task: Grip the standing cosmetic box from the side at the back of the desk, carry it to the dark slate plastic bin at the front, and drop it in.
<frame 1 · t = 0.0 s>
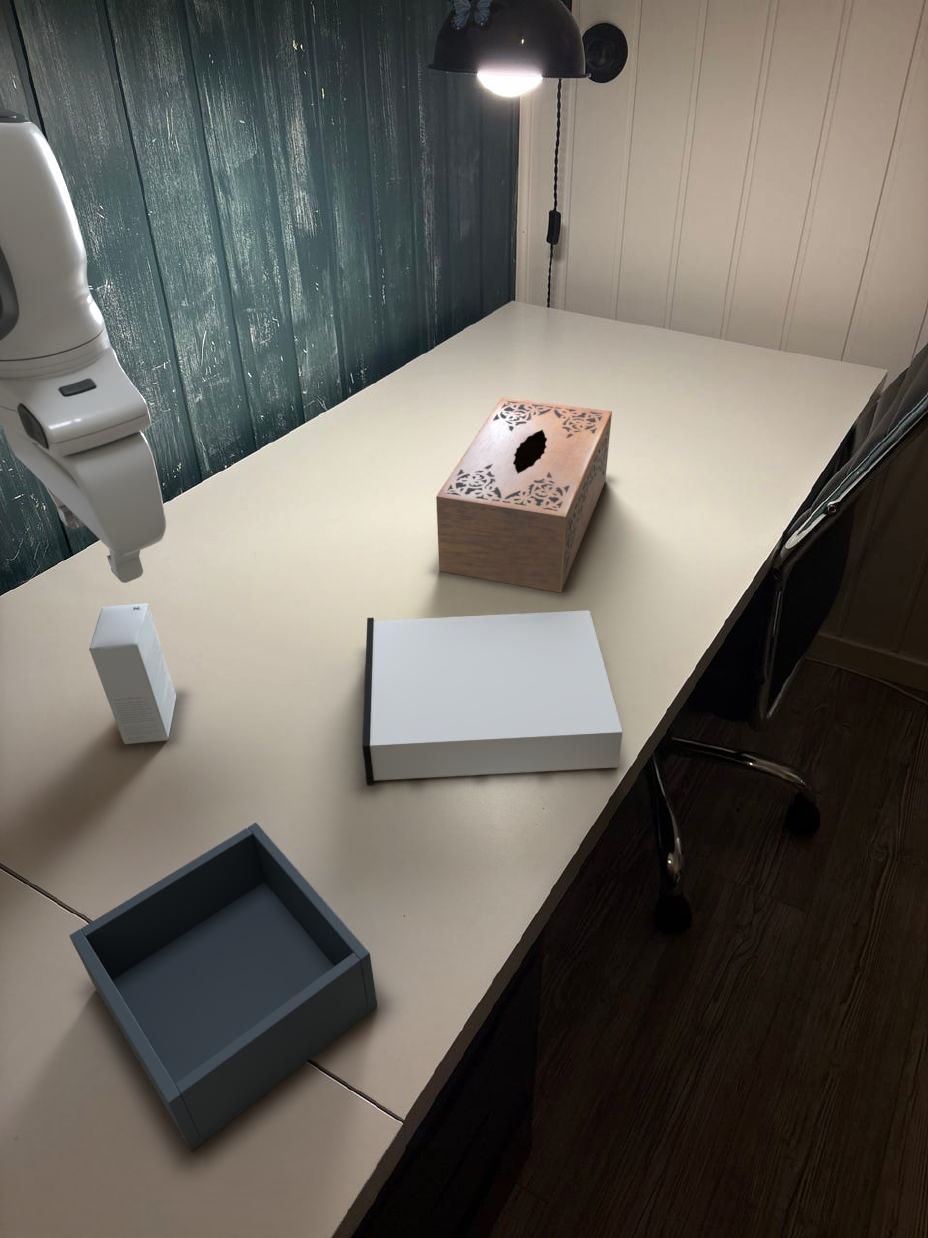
hand: (101, 548, 70), 23 cm above the table, tool pointing down, fingers open, 8 cm apart
tissue box cover: (527, 524, 114), on the table
bin: (235, 997, 66), on the table
disc drive: (484, 710, 88), on the table
cosmetic box: (151, 722, 88), on the table
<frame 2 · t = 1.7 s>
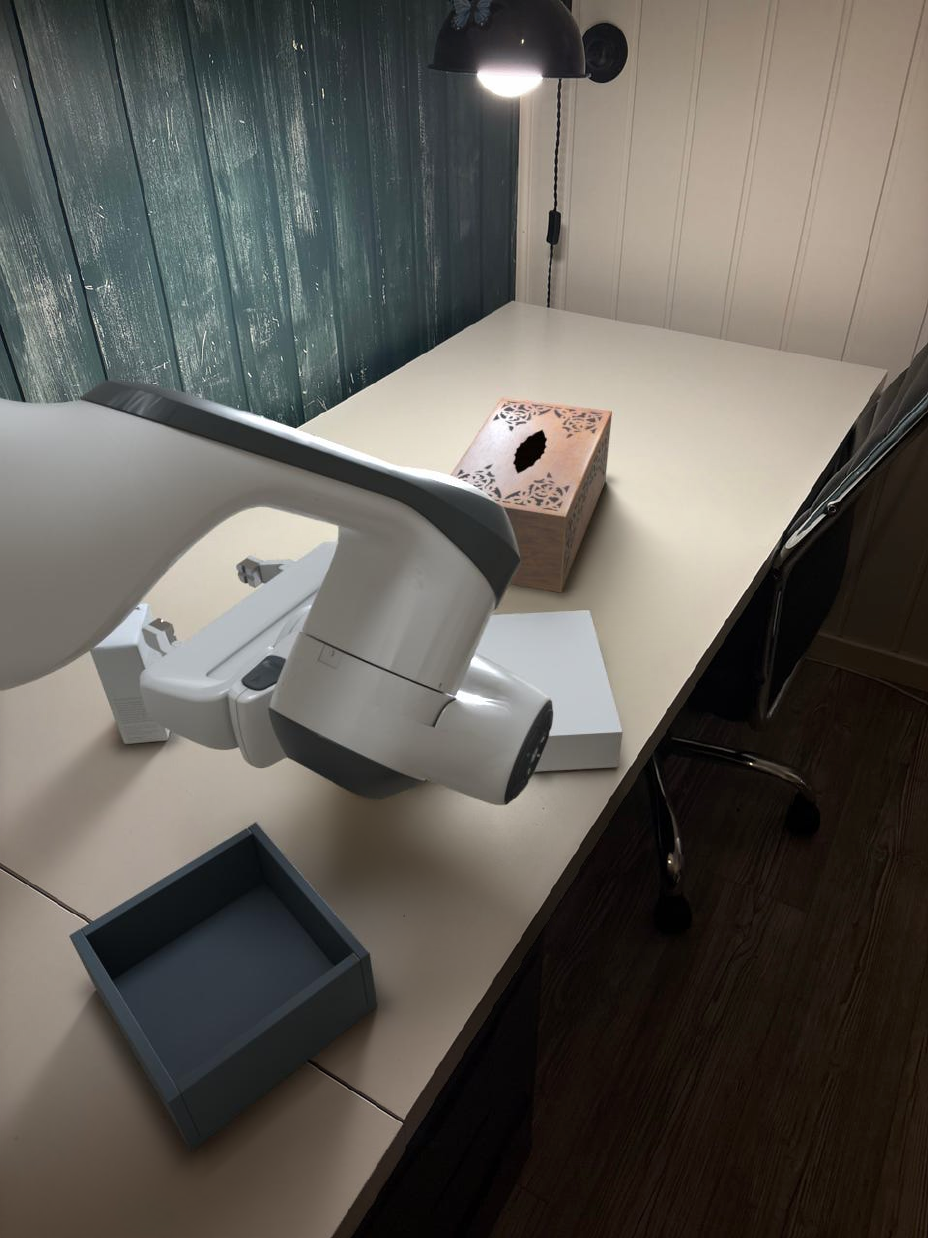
hand: (199, 597, 70), 20 cm above the table, tool horizontal, fingers open, 8 cm apart
nothing on the table moved.
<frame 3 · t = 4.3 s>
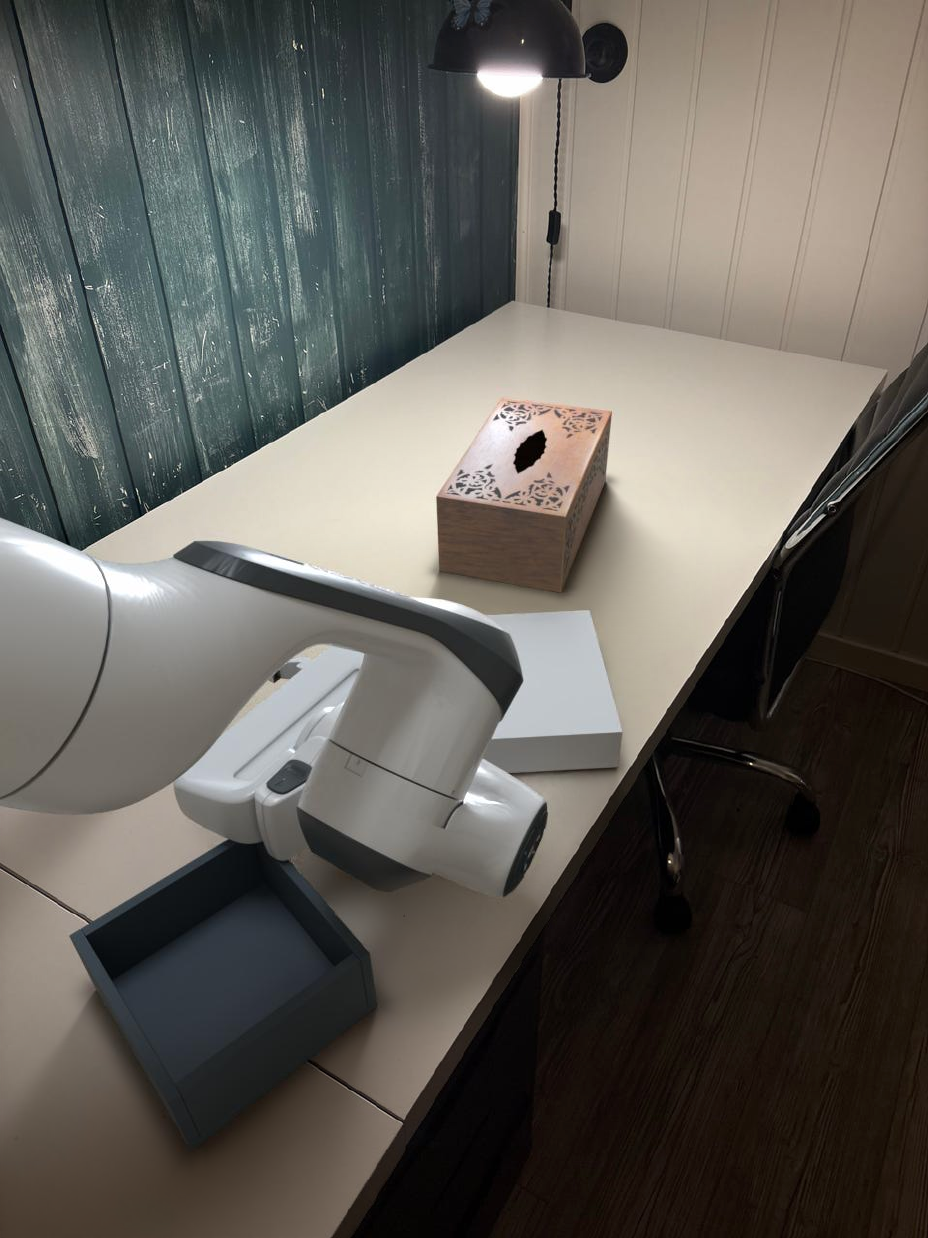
hand: (223, 694, 76), 10 cm above the table, tool horizontal, fingers open, 8 cm apart
nothing on the table moved.
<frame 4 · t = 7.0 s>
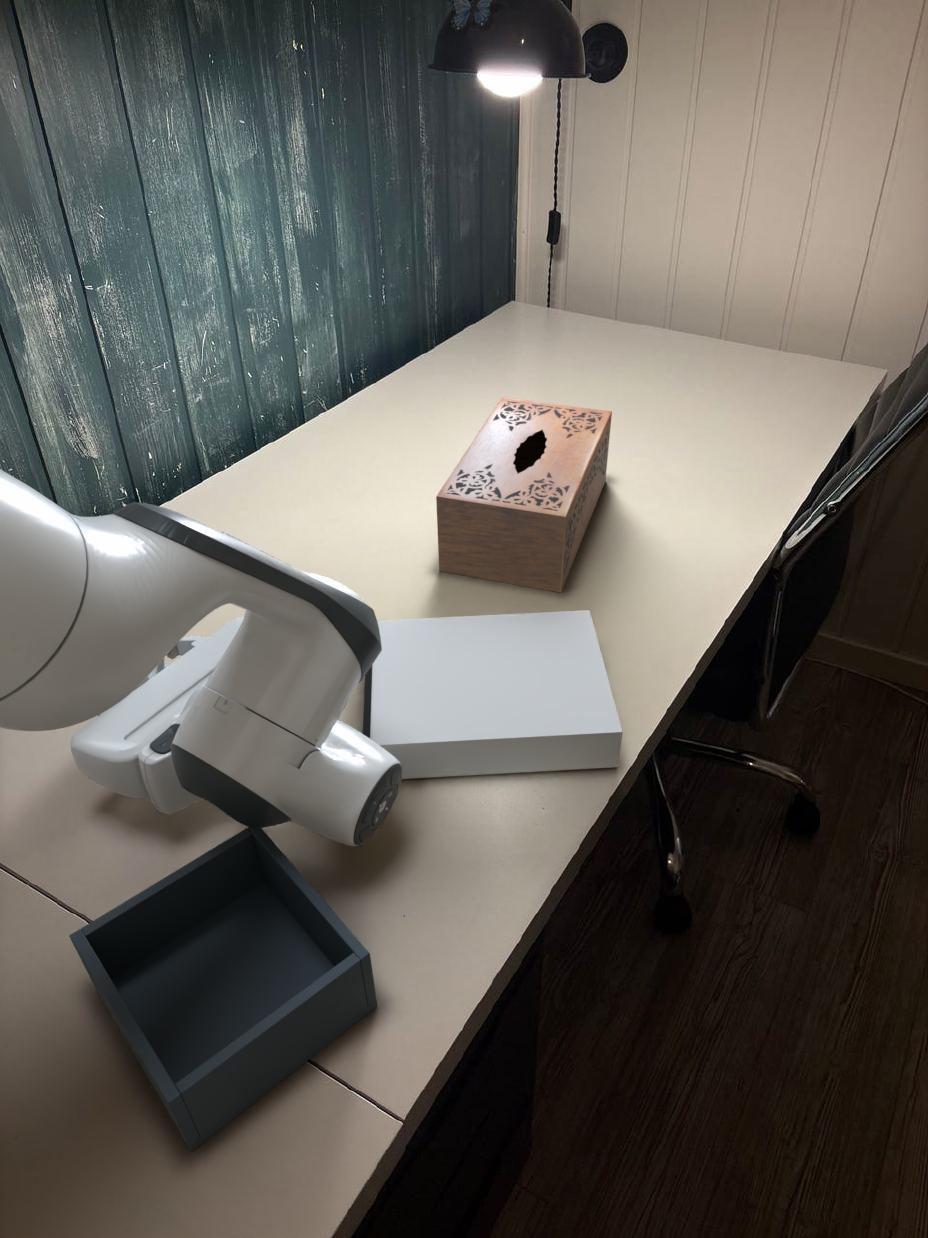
hand: (127, 666, 84), 7 cm above the table, tool horizontal, fingers closed on cosmetic box, 7 cm apart
cosmetic box: (151, 722, 88), on the table, touching gripper
everything else where it was.
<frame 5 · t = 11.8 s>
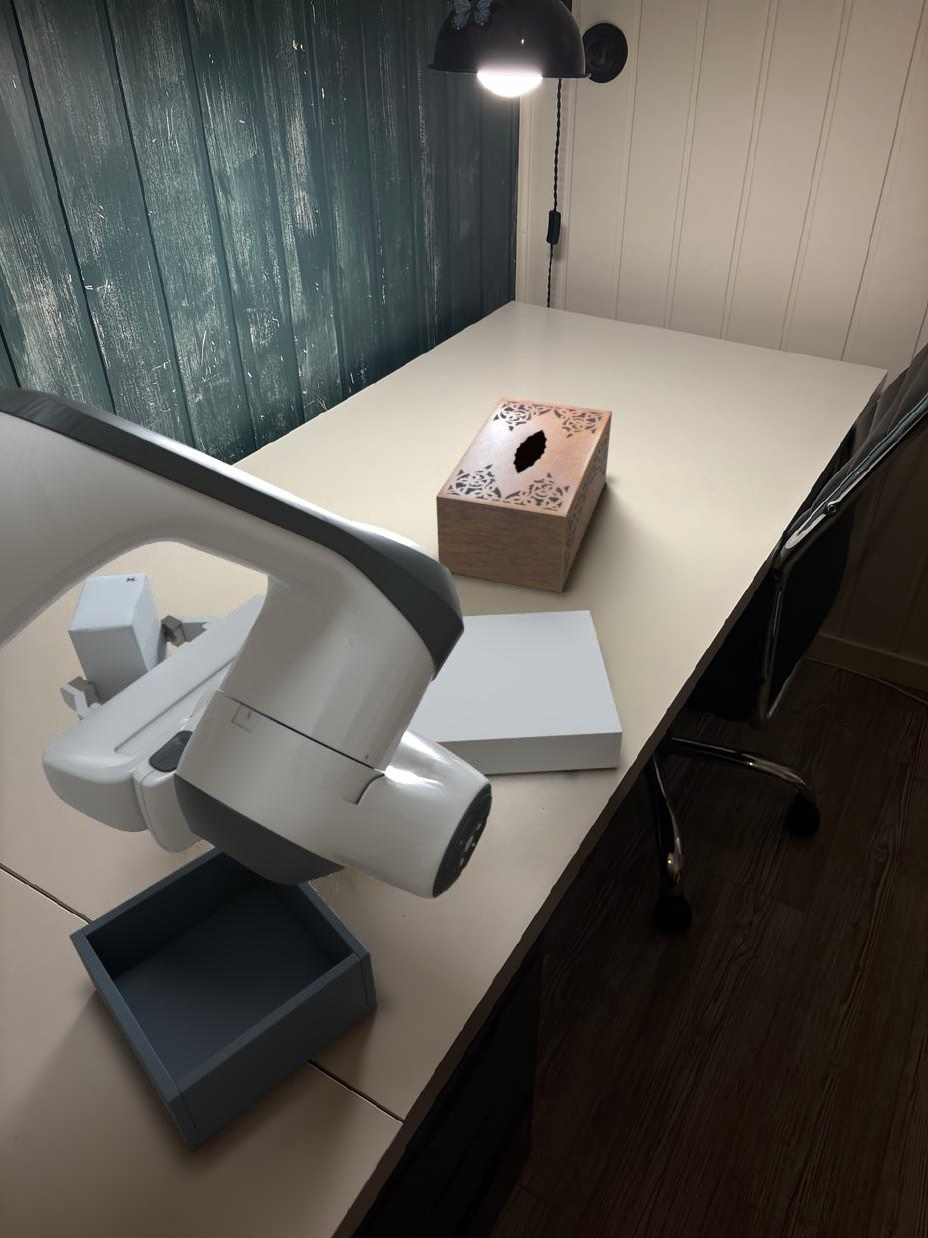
hand: (119, 656, 65), 20 cm above the table, tool horizontal, fingers closed on cosmetic box, 7 cm apart
cosmetic box: (150, 728, 68), point 13 cm above the table, touching gripper
everything else where it was.
when the fingers open (11 cm above the table, at t = 16.7 s): cosmetic box drops 3 cm, resting on bin.
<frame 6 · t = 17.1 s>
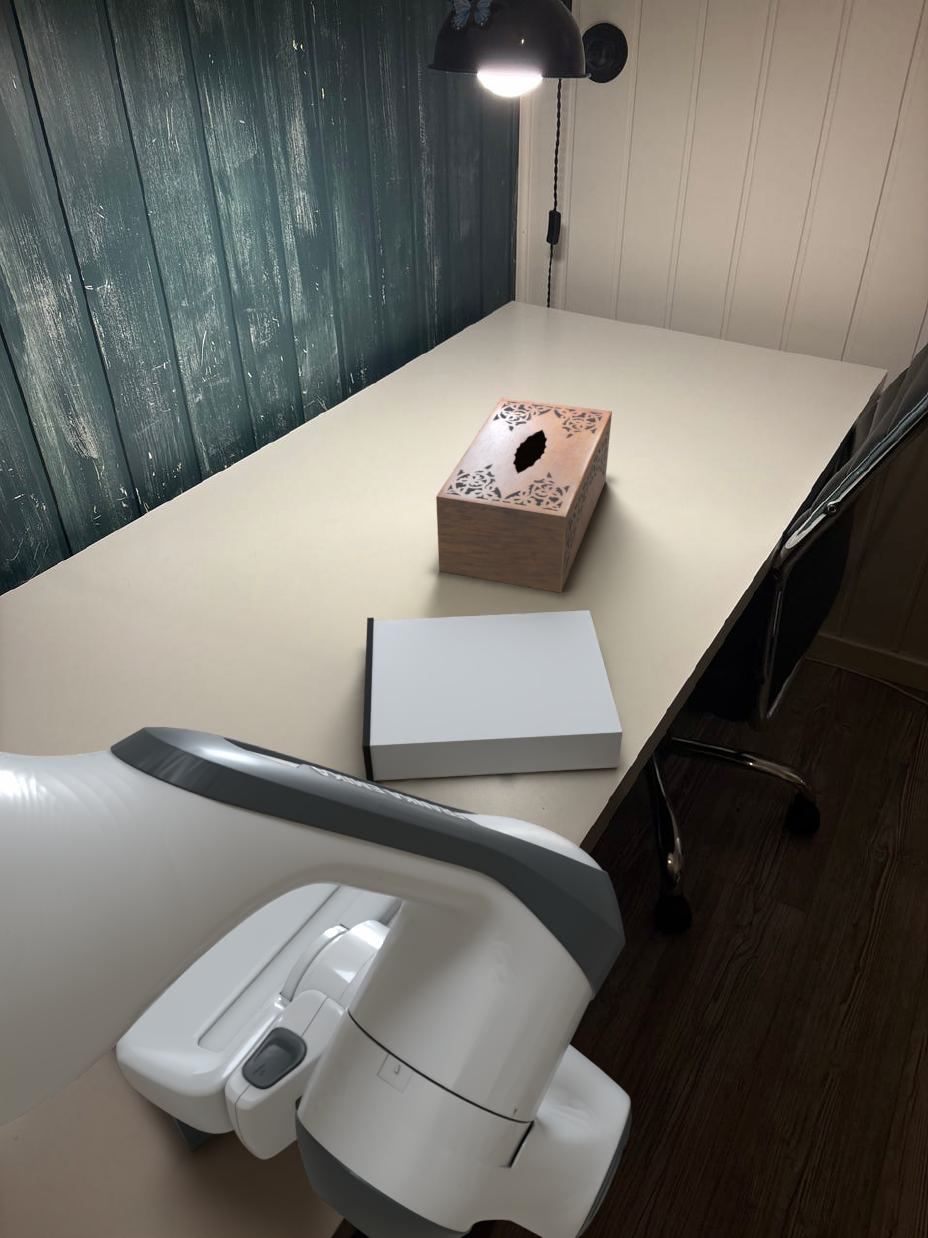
hand: (190, 890, 58), 12 cm above the table, tool horizontal, fingers open, 8 cm apart
cosmetic box: (222, 1002, 65), point 1 cm above the table, touching bin, gripper
everything else where it was.
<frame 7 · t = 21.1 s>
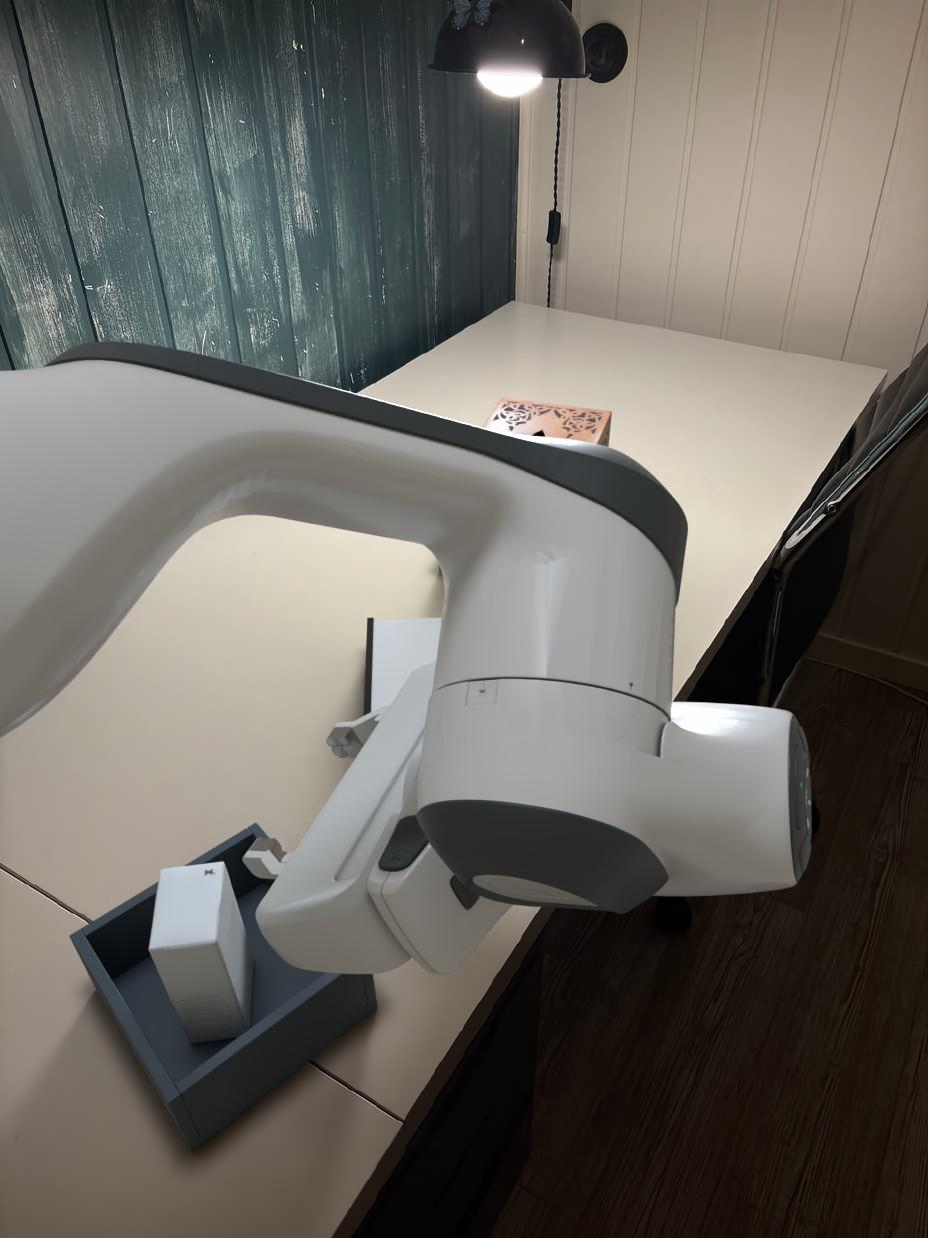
hand: (297, 795, 55), 19 cm above the table, tool tilted 65°, fingers open, 8 cm apart
cosmetic box: (223, 1003, 65), point 1 cm above the table, touching bin
everything else where it was.
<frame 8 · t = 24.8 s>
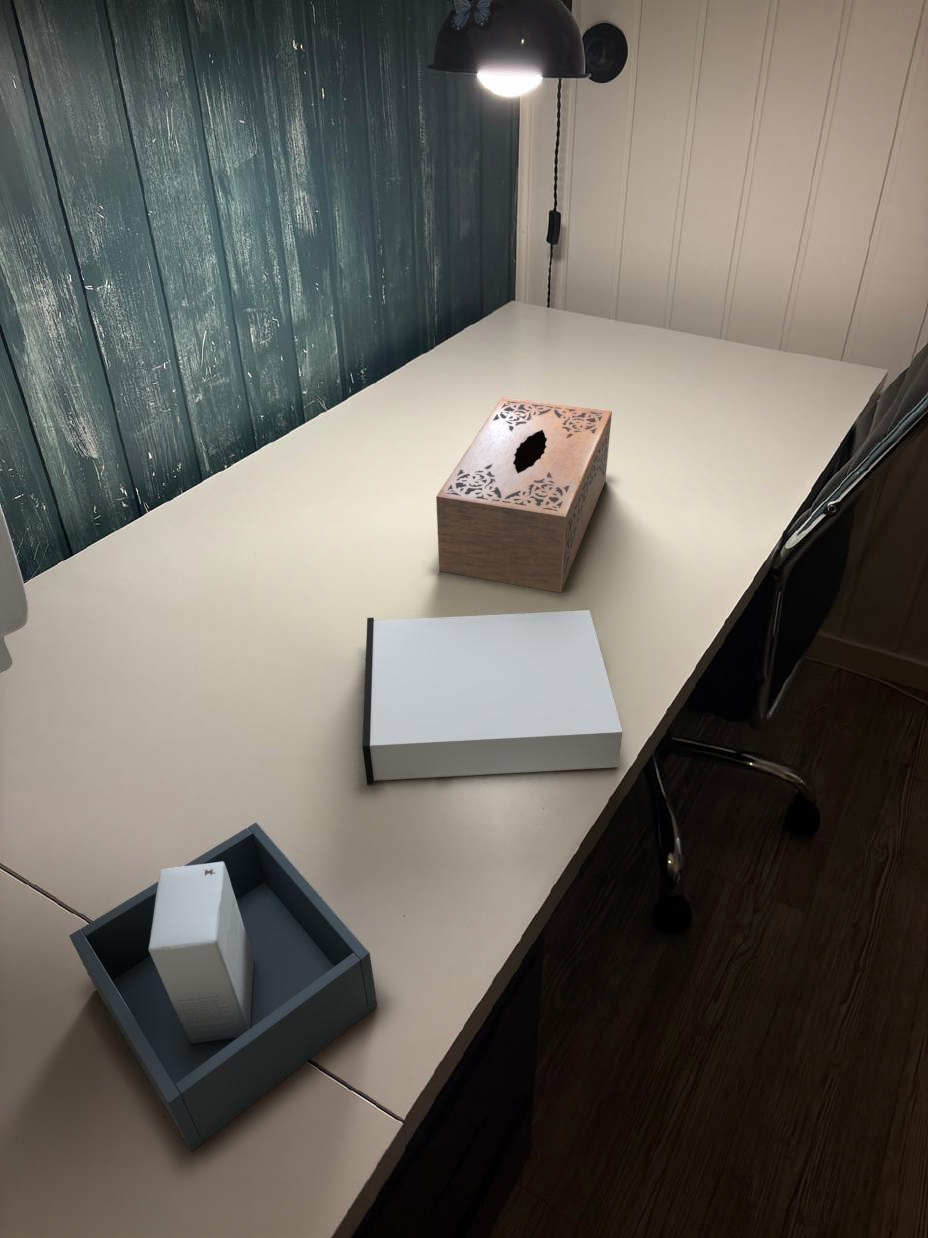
nothing on the table moved.
at the end: cosmetic box inside the target area in the bin (1.0 cm from its centre), point 0.6 cm above the bin's base; the gripper is holding nothing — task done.
